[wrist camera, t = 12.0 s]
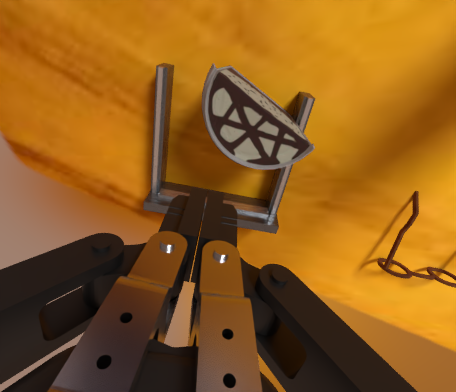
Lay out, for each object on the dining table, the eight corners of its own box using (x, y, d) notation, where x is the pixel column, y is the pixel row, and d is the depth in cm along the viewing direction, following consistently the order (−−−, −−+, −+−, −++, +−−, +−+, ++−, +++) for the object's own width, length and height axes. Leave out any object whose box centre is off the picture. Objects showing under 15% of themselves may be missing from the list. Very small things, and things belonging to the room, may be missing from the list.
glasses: (371, 256, 45) (384, 279, 41) (413, 189, 39) (434, 208, 34) (445, 269, 46) (466, 294, 42) (499, 206, 39) (530, 227, 35)
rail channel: (163, 63, 31) (147, 68, 26) (309, 93, 32) (321, 104, 27) (156, 187, 40) (143, 209, 35) (272, 208, 41) (276, 233, 36)
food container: (191, 101, 34) (172, 125, 25) (220, 56, 31) (210, 65, 22) (267, 158, 37) (274, 196, 28) (299, 122, 34) (318, 152, 26)
